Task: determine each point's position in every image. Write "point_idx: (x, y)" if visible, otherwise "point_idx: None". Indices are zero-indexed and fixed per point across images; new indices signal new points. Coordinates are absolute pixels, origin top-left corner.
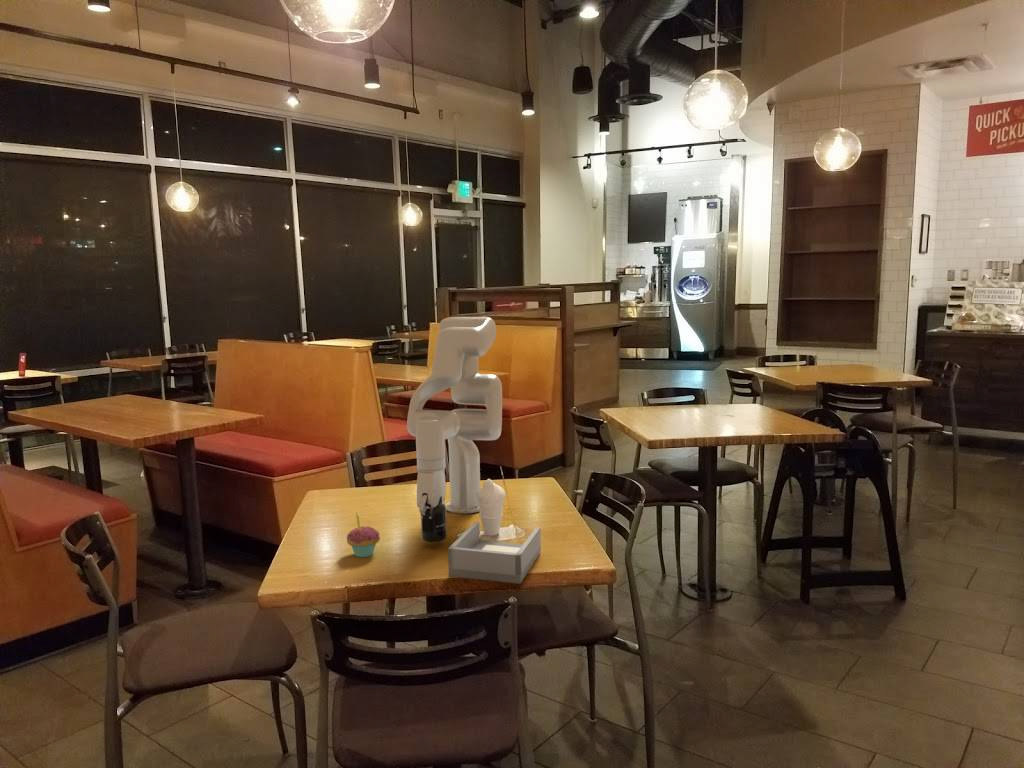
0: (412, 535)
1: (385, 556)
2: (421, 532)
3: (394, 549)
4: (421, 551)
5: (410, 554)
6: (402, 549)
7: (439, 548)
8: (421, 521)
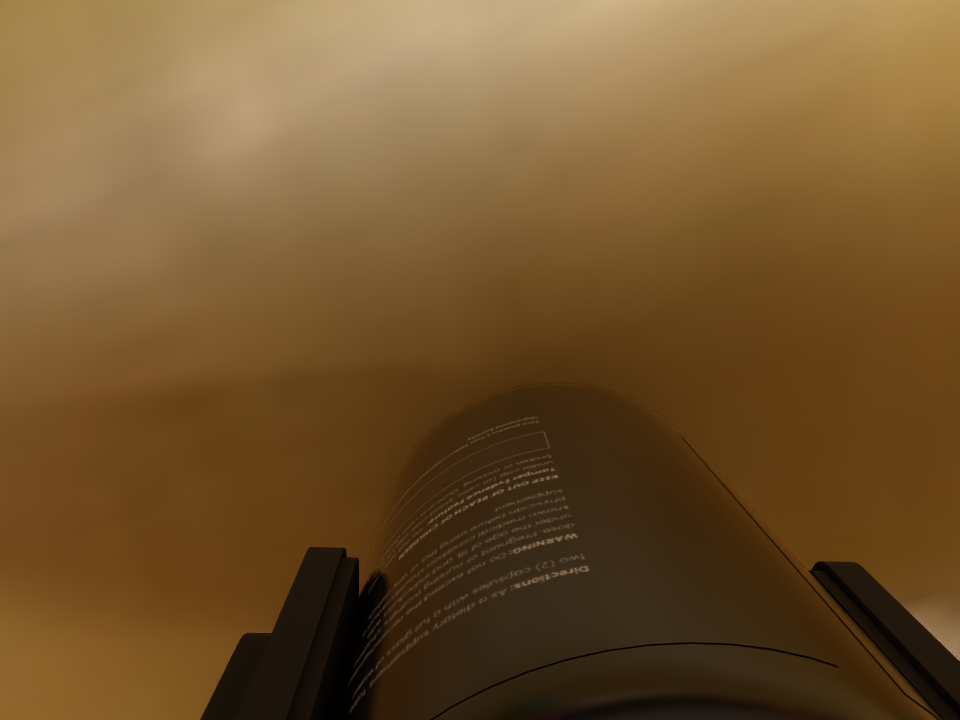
0: (846, 85)
1: (18, 14)
2: (467, 431)
3: (296, 38)
4: (324, 413)
5: (194, 321)
6: (325, 151)
7: None
8: (437, 550)
